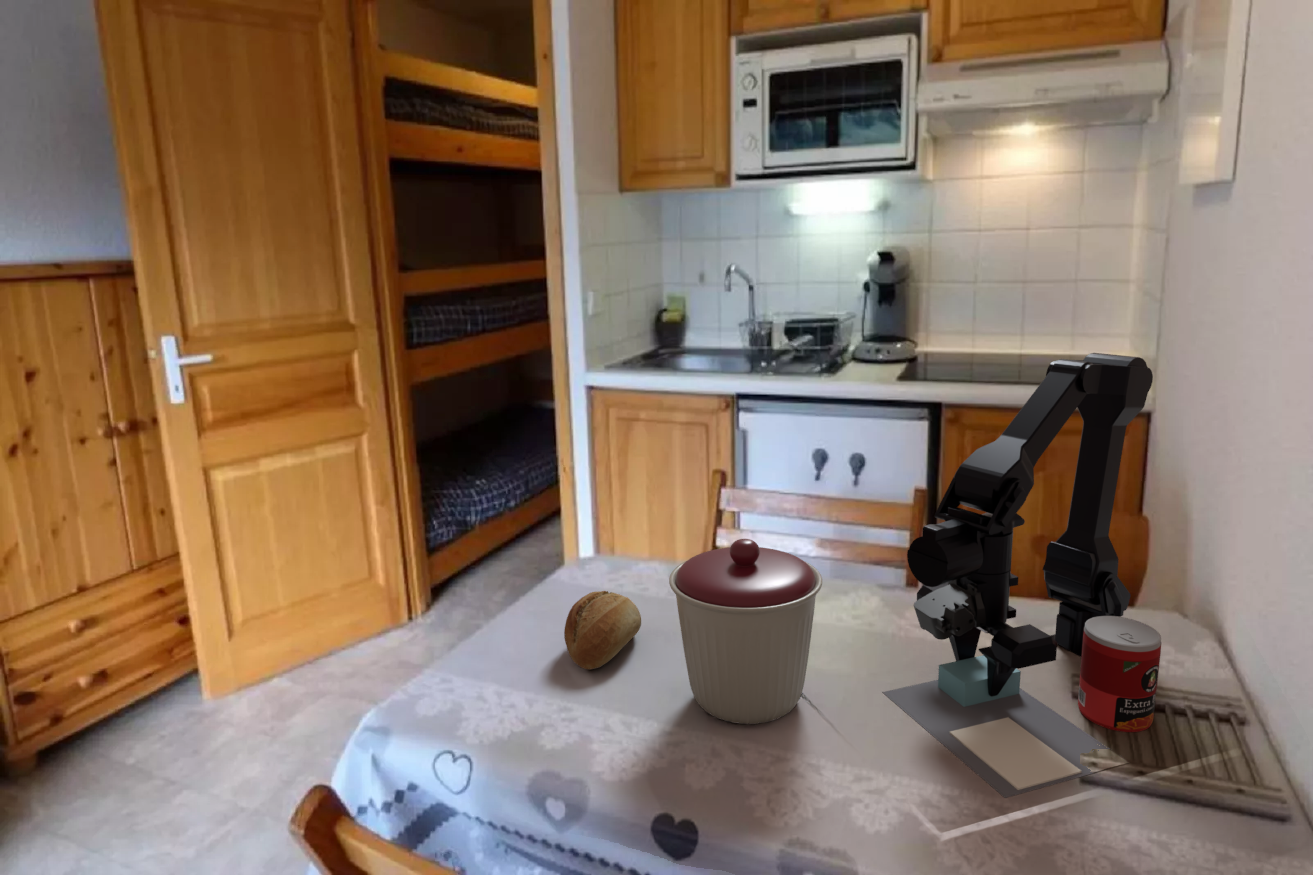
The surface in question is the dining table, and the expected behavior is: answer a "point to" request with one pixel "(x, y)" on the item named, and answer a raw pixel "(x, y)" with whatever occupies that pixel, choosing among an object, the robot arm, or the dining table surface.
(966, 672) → the block
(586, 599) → the bread roll
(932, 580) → the robot arm
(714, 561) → the canister
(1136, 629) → the canned food
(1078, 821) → the dining table surface
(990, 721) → the mat
